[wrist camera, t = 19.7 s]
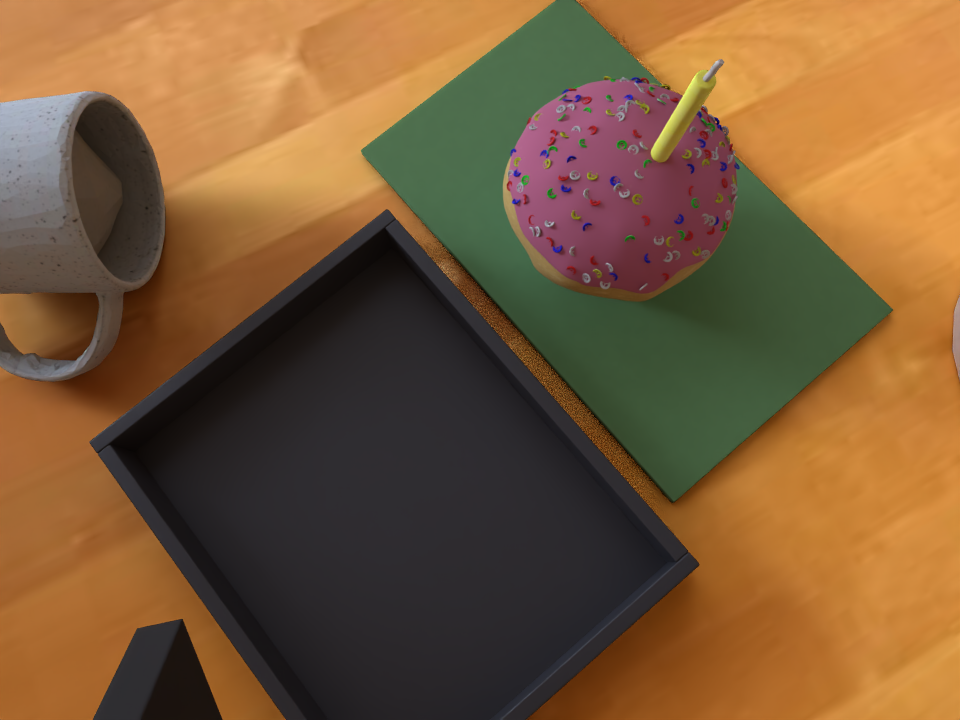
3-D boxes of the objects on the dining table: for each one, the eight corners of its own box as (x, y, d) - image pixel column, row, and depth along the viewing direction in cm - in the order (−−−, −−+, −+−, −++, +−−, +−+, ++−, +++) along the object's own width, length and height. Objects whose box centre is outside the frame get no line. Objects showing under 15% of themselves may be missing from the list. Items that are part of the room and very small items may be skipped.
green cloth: (362, 154, 38) (360, 149, 37) (566, -3, 39) (566, -9, 39) (672, 503, 33) (674, 502, 33) (889, 312, 35) (893, 309, 34)
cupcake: (686, 127, 37) (761, -78, 25) (732, 312, 35) (837, 182, 23) (491, 161, 37) (474, -27, 25) (525, 348, 35) (524, 236, 23)
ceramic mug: (-7, 163, 38) (-136, 68, 31) (171, 149, 38) (84, 51, 31) (-27, 392, 36) (-171, 350, 29) (163, 381, 36) (67, 335, 28)
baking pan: (118, 450, 35) (88, 441, 33) (396, 232, 37) (387, 208, 34) (390, 829, 31) (378, 851, 29) (687, 565, 33) (700, 564, 30)
